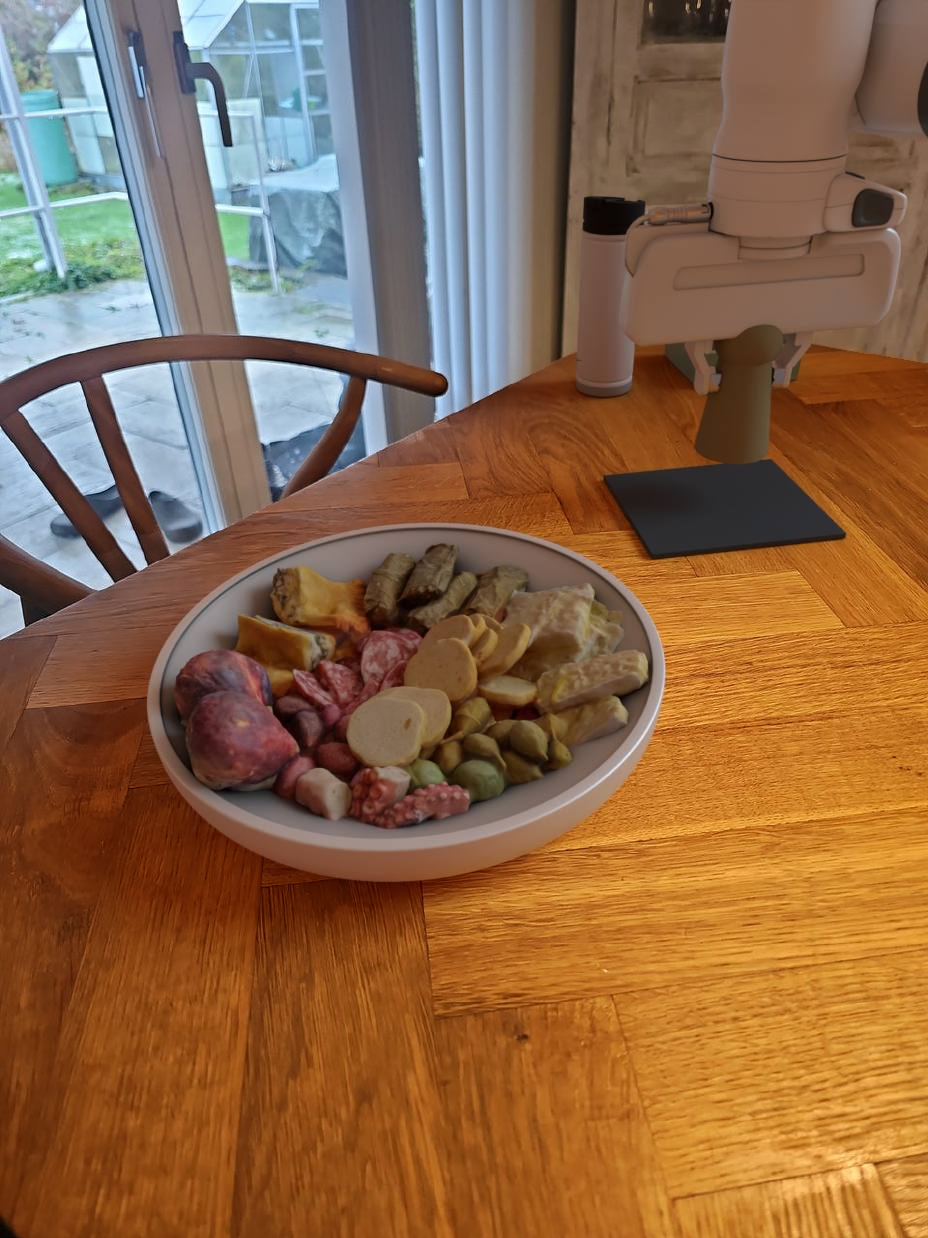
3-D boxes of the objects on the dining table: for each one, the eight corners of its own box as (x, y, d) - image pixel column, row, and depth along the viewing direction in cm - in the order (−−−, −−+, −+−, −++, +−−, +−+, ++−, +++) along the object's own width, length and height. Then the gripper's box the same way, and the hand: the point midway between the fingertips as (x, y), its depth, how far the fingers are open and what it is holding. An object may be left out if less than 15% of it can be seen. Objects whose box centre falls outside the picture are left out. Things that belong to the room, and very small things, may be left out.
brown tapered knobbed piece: (679, 450, 71) (696, 316, 64) (716, 427, 74) (735, 298, 68) (746, 470, 67) (770, 331, 61) (781, 445, 71) (808, 311, 64)
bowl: (428, 537, 70) (421, 449, 66) (754, 701, 53) (776, 596, 48) (81, 716, 54) (40, 616, 49) (385, 1044, 36) (365, 935, 31)
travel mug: (562, 389, 96) (567, 194, 84) (599, 373, 99) (610, 184, 88) (605, 403, 92) (617, 201, 80) (642, 386, 96) (659, 190, 84)
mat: (770, 463, 79) (771, 458, 79) (845, 538, 68) (847, 533, 67) (603, 480, 78) (603, 474, 77) (651, 559, 66) (652, 554, 66)
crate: (754, 347, 105) (760, 314, 102) (797, 380, 96) (804, 344, 93) (664, 355, 104) (667, 321, 101) (698, 389, 94) (702, 353, 92)
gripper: (641, 218, 56) (626, 416, 64) (931, 197, 58) (880, 392, 66) (614, 200, 61) (603, 386, 69) (882, 182, 63) (840, 365, 71)
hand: (740, 389), depth 68 cm, fingers closed on brown tapered knobbed piece, 4 cm apart
